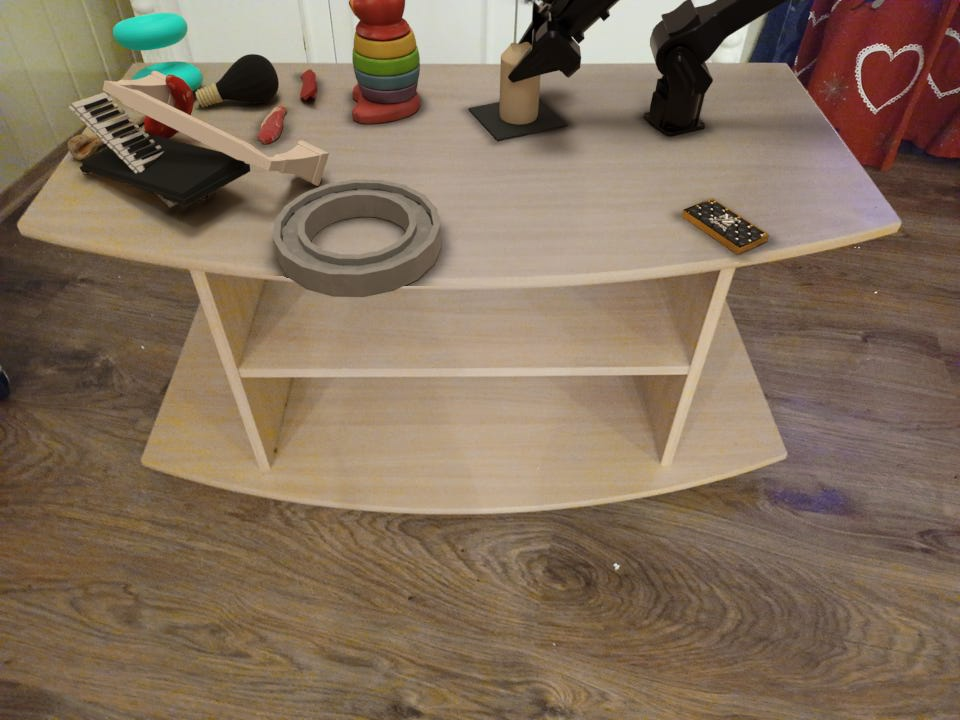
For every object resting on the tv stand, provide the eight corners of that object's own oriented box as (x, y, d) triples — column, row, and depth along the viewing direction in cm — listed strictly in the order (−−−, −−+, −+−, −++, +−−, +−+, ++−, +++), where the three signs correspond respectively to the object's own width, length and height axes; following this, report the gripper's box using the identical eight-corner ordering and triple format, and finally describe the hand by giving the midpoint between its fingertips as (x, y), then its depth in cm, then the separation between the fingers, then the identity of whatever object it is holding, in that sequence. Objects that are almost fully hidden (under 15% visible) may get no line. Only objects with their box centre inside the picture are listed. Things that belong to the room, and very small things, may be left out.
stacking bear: (352, 90, 110) (337, -38, 98) (419, 88, 111) (413, -40, 99) (352, 125, 103) (336, -10, 90) (424, 122, 104) (418, -12, 91)
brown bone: (159, 89, 104) (176, 98, 104) (161, 106, 106) (177, 114, 106) (62, 138, 93) (80, 148, 93) (66, 156, 95) (84, 166, 95)
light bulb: (180, 71, 101) (262, 43, 101) (194, 80, 108) (271, 53, 108) (200, 119, 103) (280, 91, 103) (213, 125, 109) (288, 98, 109)
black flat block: (683, 208, 87) (712, 196, 89) (681, 216, 88) (710, 204, 90) (740, 246, 82) (770, 233, 83) (737, 254, 82) (767, 241, 84)
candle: (491, 118, 104) (493, 47, 97) (512, 104, 107) (514, 34, 100) (525, 128, 102) (528, 57, 95) (544, 113, 105) (549, 43, 98)
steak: (274, 139, 98) (252, 140, 98) (275, 143, 99) (254, 144, 99) (291, 104, 105) (270, 105, 105) (292, 108, 105) (271, 109, 105)
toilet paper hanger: (88, 98, 86) (94, 61, 84) (149, 103, 95) (156, 71, 94) (274, 189, 82) (284, 153, 81) (319, 185, 92) (329, 153, 90)
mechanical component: (473, 252, 82) (473, 230, 80) (330, 320, 74) (326, 298, 72) (383, 184, 92) (381, 163, 90) (249, 238, 84) (243, 215, 81)
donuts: (192, 78, 114) (127, 93, 109) (171, 8, 108) (101, 21, 103) (214, 89, 107) (146, 106, 102) (193, 15, 101) (119, 30, 97)
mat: (535, 96, 110) (535, 94, 109) (567, 126, 103) (568, 124, 103) (468, 109, 106) (468, 107, 106) (497, 141, 100) (497, 139, 100)
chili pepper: (306, 99, 104) (317, 108, 105) (325, 72, 104) (336, 82, 105) (288, 92, 114) (299, 100, 115) (306, 68, 113) (316, 76, 115)
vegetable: (126, 118, 97) (166, 64, 90) (165, 127, 101) (206, 77, 94) (131, 147, 96) (172, 96, 89) (171, 156, 100) (213, 107, 93)
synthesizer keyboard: (182, 201, 80) (200, 262, 88) (250, 157, 85) (260, 219, 93) (53, 109, 85) (81, 174, 93) (124, 73, 90) (144, 138, 98)
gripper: (557, -87, 95) (472, 1, 103) (561, -41, 81) (464, 56, 90) (610, -21, 100) (525, 58, 108) (622, 32, 87) (525, 118, 95)
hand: (510, 70), depth 100 cm, fingers closed on candle, 5 cm apart
